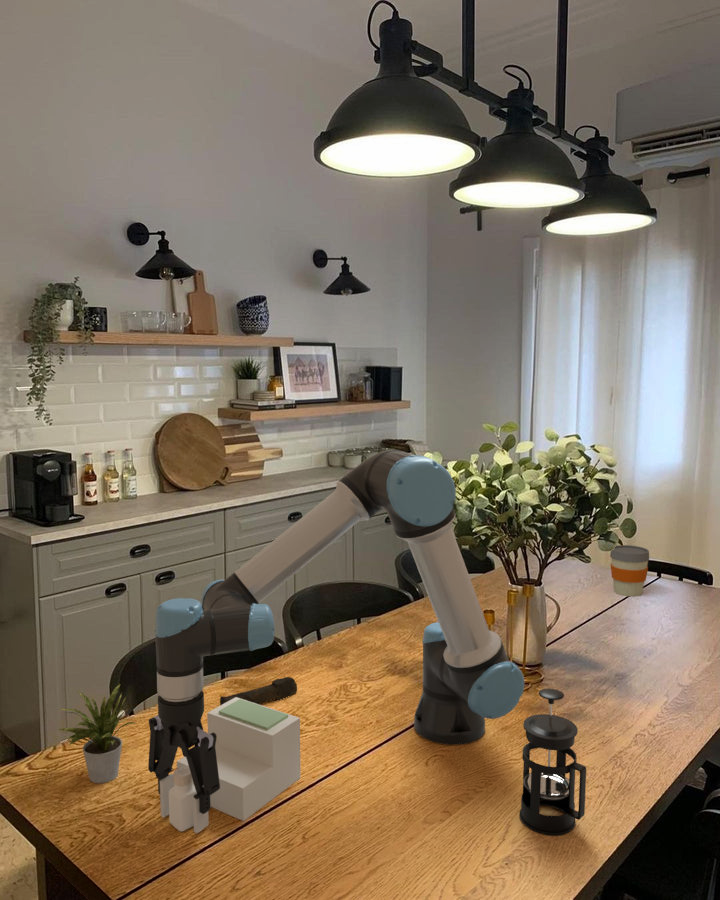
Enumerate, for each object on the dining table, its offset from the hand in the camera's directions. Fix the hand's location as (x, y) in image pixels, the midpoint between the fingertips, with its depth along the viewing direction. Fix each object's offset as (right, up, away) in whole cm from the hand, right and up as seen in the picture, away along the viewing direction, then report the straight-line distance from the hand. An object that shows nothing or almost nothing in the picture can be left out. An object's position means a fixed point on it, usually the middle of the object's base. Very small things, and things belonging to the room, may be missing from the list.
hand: (184, 820), depth 128 cm
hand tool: (+7, +4, +46) cm, 46 cm away
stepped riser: (+8, +1, +12) cm, 14 cm away
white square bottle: (0, -1, 0) cm, 1 cm away
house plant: (-19, +1, +16) cm, 25 cm away
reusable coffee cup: (+121, +14, +128) cm, 177 cm away
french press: (+63, -1, +1) cm, 63 cm away
